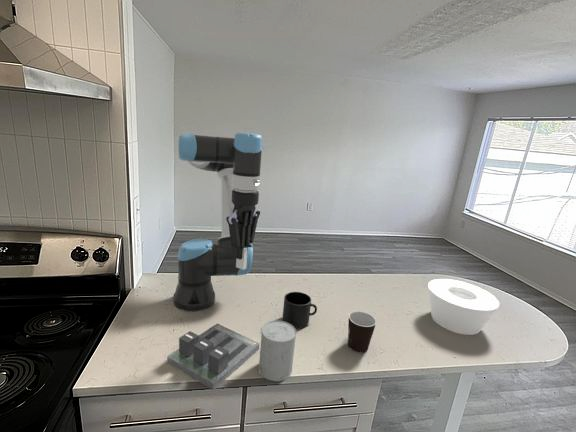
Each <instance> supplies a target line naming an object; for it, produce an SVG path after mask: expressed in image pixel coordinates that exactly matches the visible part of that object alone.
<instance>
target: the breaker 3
mask: <svg viewBox="0 0 576 432" xmlns="http://www.w3.org/2000/svg"><path fill="white" fill-rule="evenodd" d="M228 358H229V351H228V350H226V349H224V348H222V347H220V346H218V347H217V348H216V349H214V350H213V351H212V352H210V353H209V355H208V369H210V370H212V371H214V372H215V373H217V374H219V373H220V372H221V371H222V370H223V369H224V368H226V367H227V366H228Z"/></svg>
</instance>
